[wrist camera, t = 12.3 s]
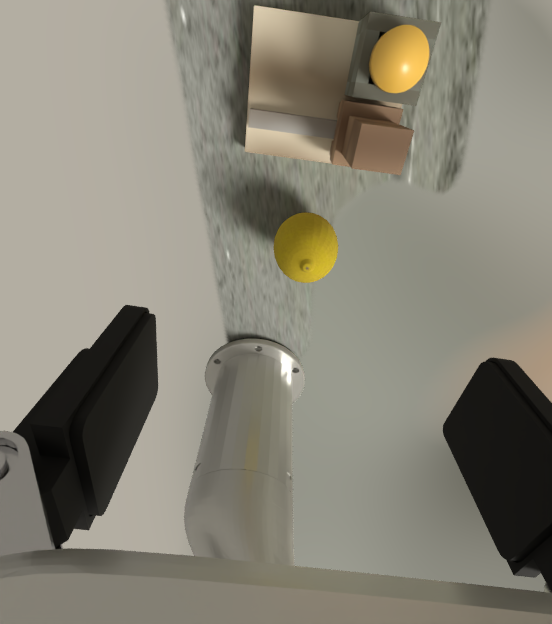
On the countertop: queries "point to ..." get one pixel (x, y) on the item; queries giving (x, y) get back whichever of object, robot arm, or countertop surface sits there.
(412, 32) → the button
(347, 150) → the block
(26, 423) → the robot arm
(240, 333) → the countertop surface
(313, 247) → the lemon
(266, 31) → the rail base
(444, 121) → the countertop surface
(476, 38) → the countertop surface
